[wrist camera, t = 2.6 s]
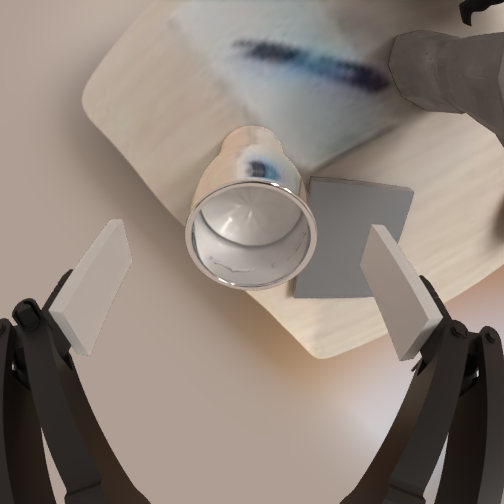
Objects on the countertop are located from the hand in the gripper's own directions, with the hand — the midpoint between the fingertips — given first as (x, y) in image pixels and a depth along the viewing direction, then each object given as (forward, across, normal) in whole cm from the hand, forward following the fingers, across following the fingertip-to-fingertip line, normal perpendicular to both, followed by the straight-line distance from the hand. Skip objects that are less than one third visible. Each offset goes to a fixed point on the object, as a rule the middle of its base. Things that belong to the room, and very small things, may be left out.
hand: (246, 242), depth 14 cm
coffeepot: (+14, +17, +13) cm, 26 cm away
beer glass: (+15, 0, 0) cm, 15 cm away
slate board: (+14, +12, -10) cm, 21 cm away
